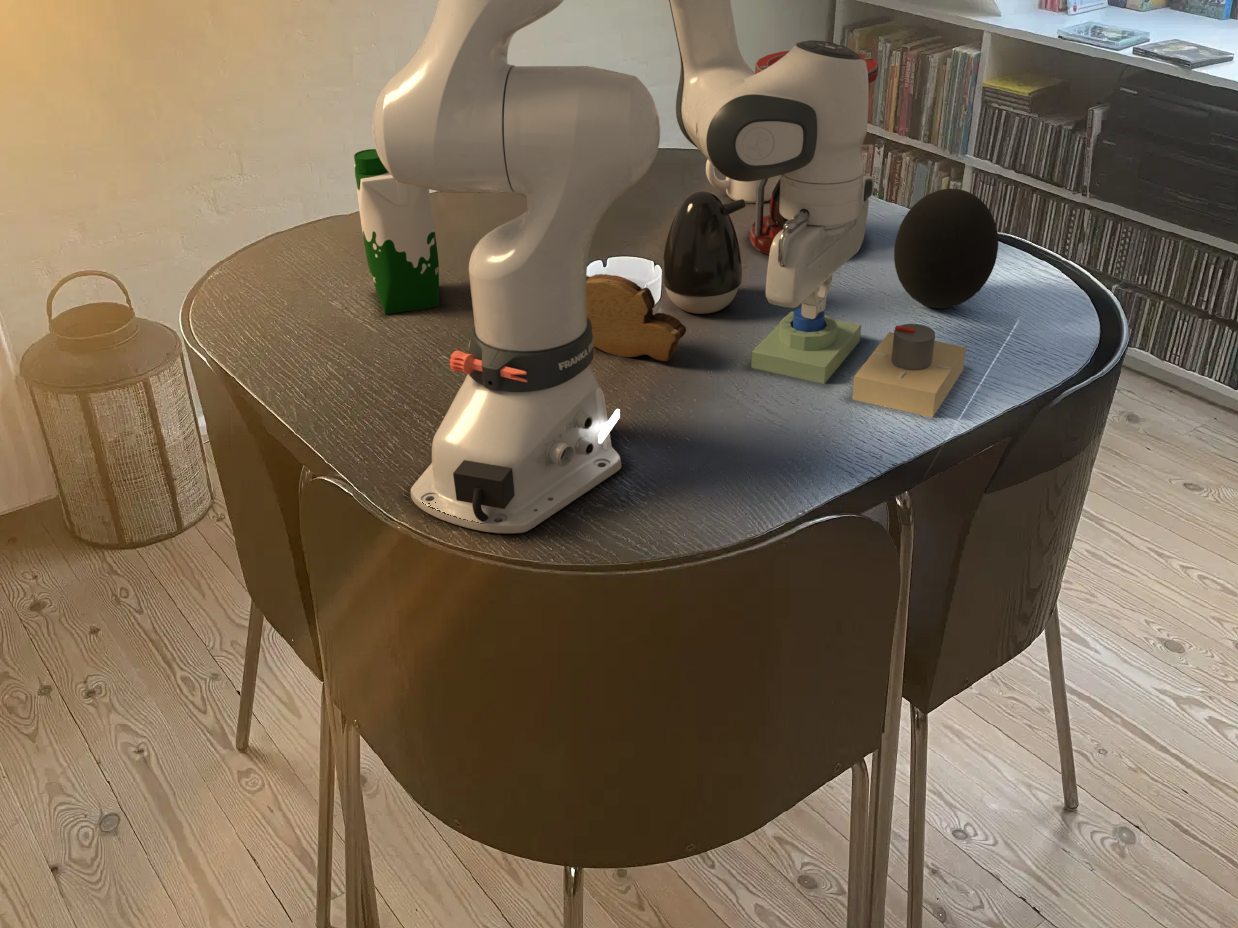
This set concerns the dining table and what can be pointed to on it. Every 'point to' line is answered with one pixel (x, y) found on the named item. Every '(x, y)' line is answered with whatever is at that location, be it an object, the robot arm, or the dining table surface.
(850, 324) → the button housing
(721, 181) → the mug
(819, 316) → the button
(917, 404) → the dial panel
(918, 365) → the dial
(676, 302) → the pump dispenser
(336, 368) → the dining table surface
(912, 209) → the decorative egg
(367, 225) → the milk carton
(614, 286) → the wooden carving
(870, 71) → the hourglass
